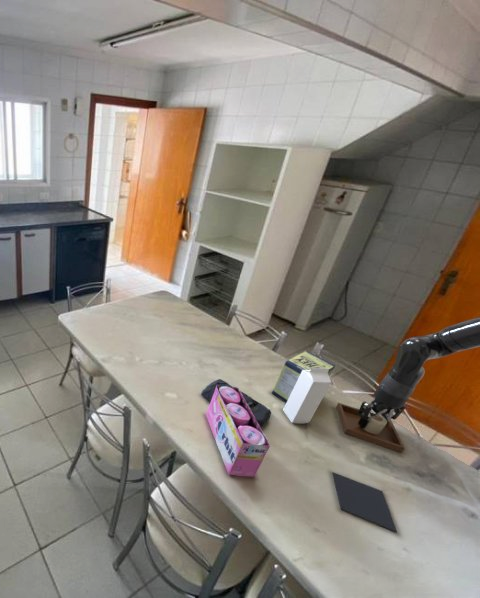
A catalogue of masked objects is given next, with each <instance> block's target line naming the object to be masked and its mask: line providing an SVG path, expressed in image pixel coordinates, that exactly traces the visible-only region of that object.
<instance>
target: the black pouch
mask: <svg viewBox="0 0 480 598" xmlns="http://www.w3.org/2000/svg"><path fill="white" fill-rule="evenodd" d="M218 385H219V388H220V387H225V386H227V387H230V388H233V387H234V386H232V385H230V384H229V383H228V382H226V381H225V380H223V379H221V378H218V379H216V380H214V381H212V382H210V383H209V384H208V385H206V387H205V388H204V389H202V391H201V393H200V395H201V397H203V399H205V400H206V401H207V402H208V403H209V404H210V402H211V400H212V397H213V394H214V392H215V389H216V386H218ZM240 392H241V394H242V395H243V397H244V399H245V401H246V403H247V405H248V406H249V408H250V410H251V412H252V413H253V415H254V417H255V419H256V421H257V423H258V424H259V426H260V427H263V426H264V425H266V423H267V422H268V421H269V420H270V417H271V415H272V411H271V410H270V409H269V408H268V407H267V406H266V405H264V404H262V403H261V402H259V401H257V400H255V399H254V398H252V397H251V396H249V395H248V394H246V393H245V392H243V391H242V390H240Z"/></svg>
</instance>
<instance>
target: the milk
mask: <svg viewBox="0 0 480 598" xmlns="http://www.w3.org/2000/svg"><path fill="white" fill-rule="evenodd" d="M328 371H329V369H323V368H312V369H311V370H302V372H301V374H300V376H299V378H298V380H297V382H296V384H295V386H294V388H293V390H292V392H291V394H290V396H289V399H288V401H287V403H286V402H285V405H284V406H283V409H282V412H283V413H284V414H285V416H286V417H287V419H288V420H289V421H290V422H291V424H301V425H307V424H308V423H310V422H311V420H312V418H313V417H314V415H315V413H316V412H317V409H318V407H319V406H320V405H321V402H322V401H323V398H324V397H325V396H326V393H327V391H328V390H329V388H330V387H331V385H332V381H331V378H330V376H329V375H328Z"/></svg>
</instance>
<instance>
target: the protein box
mask: <svg viewBox="0 0 480 598" xmlns="http://www.w3.org/2000/svg"><path fill="white" fill-rule="evenodd" d="M335 367H336V365H335V364H333V363H331V362H329V361H327V360H325V359H323V358H321V357H320V356H317V355H316V354H314V353H312V352H310V351H309V350H304V351H303V352H301V353H299V354H297V355H295V356H293V357H291V358H290V359H288V360H286V361H285V362H284V365H283V367H282V369H281V371H280V373H279V376H278V378H277V380H276V383H275V385H274V387H273V389H272V392H271V394H272V395H274V396H275V397H277V398H279V399H280V400H281V401H283V402H285V404H286V403H287V401H288V399H289V396H290V394H291V392H292V390H293V388H294V386H295V384H296V382H297V380H298V378H299V376H300V374H301V372H302V370H311V369H312V368H323V369H329V371H328V375H329V377H330V376H331V375H332V373H333V371H334V368H335Z"/></svg>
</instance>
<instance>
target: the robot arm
mask: <svg viewBox="0 0 480 598" xmlns="http://www.w3.org/2000/svg"><path fill="white" fill-rule="evenodd" d="M479 347H480V316H479V317H478V316H477V317H473V318H471V319H467V320H465V321H461V322H458V323H455V324H452V325H449V326H446V327H444V328H442V329H441V330H440V331H437V332H434V333H430V334H427V335H420V336H412V337H409V338H406V339H405V340H404V341H403V342H402V343H401V344H400V345H399V347H398V350H397V353H396V355H395V362H394V364H393V365H392V366H391V368H390V369H389V371H388V372H387V374H386V375H385V376H384V377H383V379H382V380H381V381H380V383H379V384H378V385H377V387H376V389H375V391H374V392H373V396H374V399H373V400H371V402H367V401H363V402H361V405H360V407H359V408H358V409H359V411H358V413H357V414H358V415H359V416H360V417H361V419H360V420H359V422H358V425H359V426H360V427H361V428H366V426H367V425H368V423H369V422H370V420H371V419H373V418H374V417H375V418H377V417H378V416H379V415H382V416H383V417H384V418H385V419H386V420H387V421H390V420H391V421H393V420H394V421H395V420H397V419H398V418H399V416H400V415H401V414H402V413H403V412H404V411H405V410H406V409H407V407H406V406H405V404H406V403H407V401H408V400H409V399H410V397H411V396H412V394H413V393H414V391H415V390H416V387H417V386H418V384H419V382H420V381H421V380H422V378H424V375H425V373H426V372H425V368H424V367H423V366H424V364H425V363H426V362H427V361H429V360H435V359H440V358H444V357H446V356H449V355H454V354H456V353H459V352H462V351H467V350H470V349H475V348H479ZM372 411H374V412H375V414H374V413H373V412H372ZM369 413H370V414H371V415H370V416H369V417H368V415H369Z"/></svg>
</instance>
